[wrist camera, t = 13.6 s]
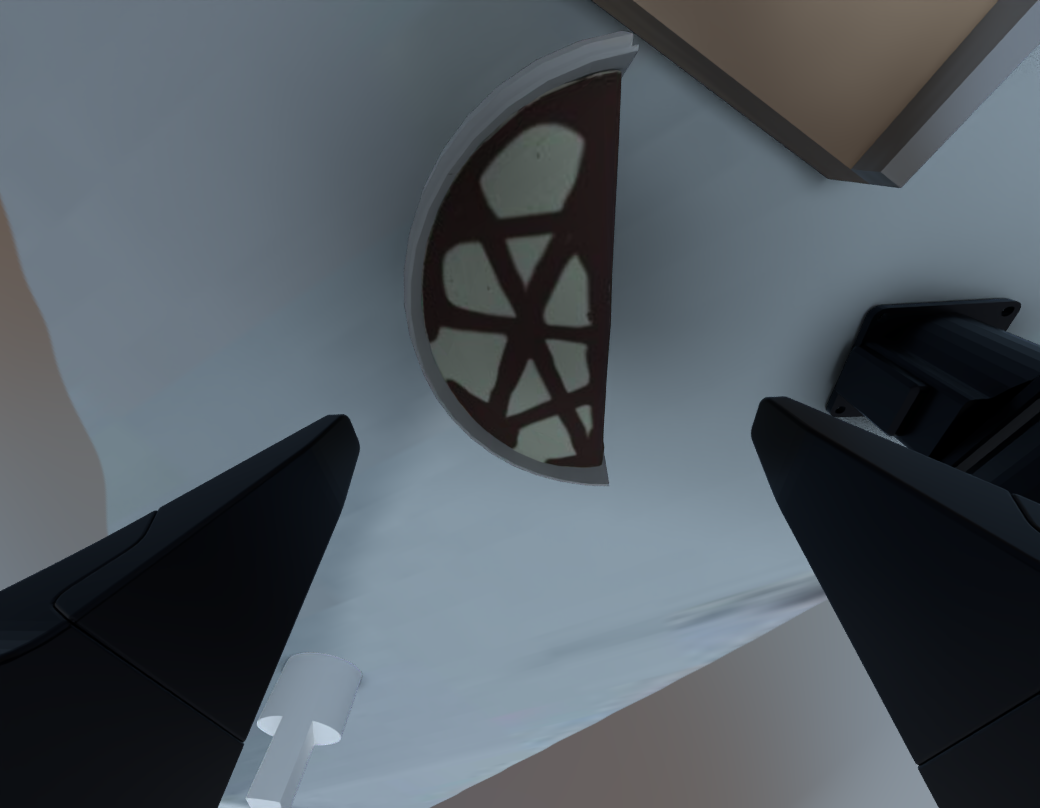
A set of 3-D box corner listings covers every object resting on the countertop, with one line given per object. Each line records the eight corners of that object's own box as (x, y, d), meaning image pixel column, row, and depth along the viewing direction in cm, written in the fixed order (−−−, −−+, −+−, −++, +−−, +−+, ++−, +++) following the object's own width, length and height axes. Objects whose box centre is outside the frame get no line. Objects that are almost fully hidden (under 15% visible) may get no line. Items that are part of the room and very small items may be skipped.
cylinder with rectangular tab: (284, 646, 44) (210, 792, 34) (364, 660, 45) (313, 806, 35) (289, 677, 49) (225, 813, 39) (360, 689, 50) (315, 824, 40)
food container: (432, 97, 15) (304, 44, 7) (587, 80, 15) (642, 2, 7) (476, 367, 22) (437, 500, 14) (584, 362, 22) (608, 497, 14)
